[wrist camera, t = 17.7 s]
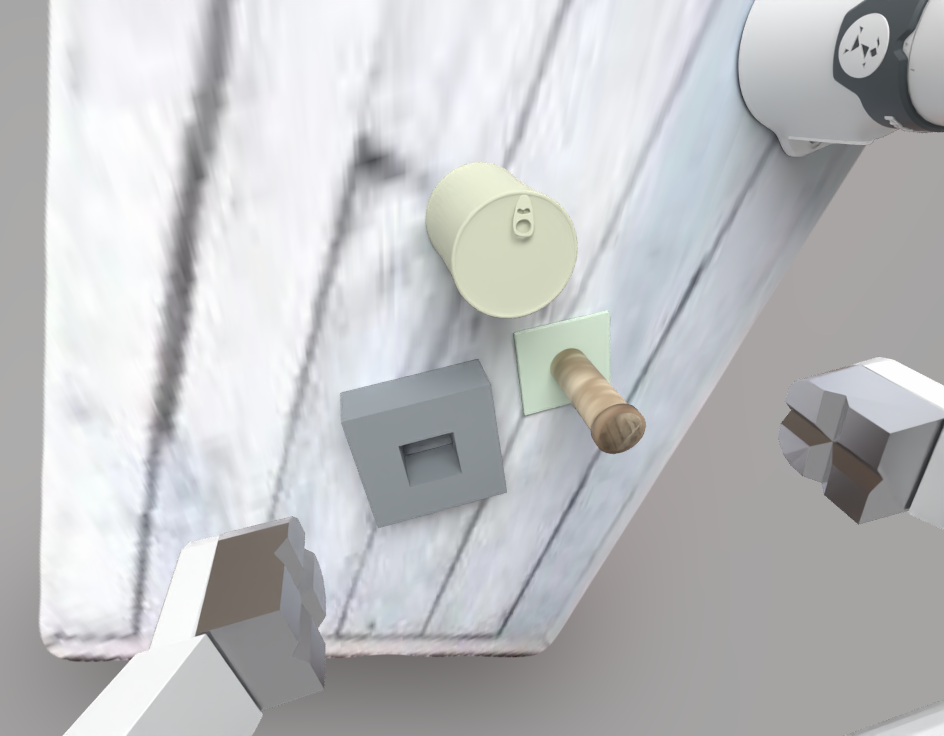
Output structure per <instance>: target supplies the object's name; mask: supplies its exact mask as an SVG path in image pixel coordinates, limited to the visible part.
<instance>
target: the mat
mask: <svg viewBox="0 0 944 736" xmlns="http://www.w3.org/2000/svg"><path fill="white" fill-rule="evenodd" d="M514 338H515V347H516V355H517V364H518V372H519V381H520V389H521V398H522V406H523V413H524V415H529V414H532V413H536V412H540V411H544V410H548V409H552V408H555V407H559V406H563V405H567V404H571V402H570V400H569V399H568V397H567V396H566V395H565V393H564V392H563V390H562V389H561V388H560V386H559V385H558V383H557V382H556V380H555V379H554V378H553V376H552V374H551V372H550V365H551V362H552V360H553V358H554V357H555V356H556V355H557V354H558V353H559V352H561V351H563V350H565V349H569V348H575V349H578V350H580V351H582V352H583V353H584V355H585V356H586V357H587V358H588V359H589V360H590V361H591V363H592V364H593V365H594V366H595V367H596V368H597V369H598V371H599V372H600V373H601V374H602V375H603V376H604V377H605V379H606V380H607V381H608V382H609V383H610V312H609V311H608V310H606V311H602V312H598V313H594V314H590V315H585V316H581V317H577V318H573V319H569V320H565V321H560V322H556V323H552V324H548V325H544V326H540V327H536V328H531V329H527V330H523V331H519V332H515V333H514Z"/></svg>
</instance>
